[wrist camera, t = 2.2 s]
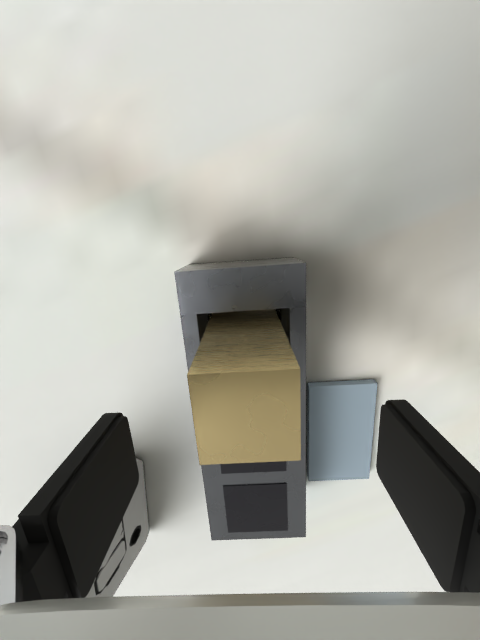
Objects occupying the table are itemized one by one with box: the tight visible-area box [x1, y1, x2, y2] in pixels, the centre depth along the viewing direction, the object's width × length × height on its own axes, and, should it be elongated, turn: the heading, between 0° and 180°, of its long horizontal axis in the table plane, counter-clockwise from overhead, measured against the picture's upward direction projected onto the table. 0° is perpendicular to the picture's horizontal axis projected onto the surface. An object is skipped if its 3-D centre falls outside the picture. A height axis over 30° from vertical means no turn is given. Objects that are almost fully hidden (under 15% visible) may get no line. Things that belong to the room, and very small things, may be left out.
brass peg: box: [187, 309, 301, 465], centre depth 15 cm, size 4×4×10 cm
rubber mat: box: [307, 379, 377, 481], centre depth 22 cm, size 9×5×1 cm, turn 4°
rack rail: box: [174, 257, 306, 540], centre depth 19 cm, size 20×7×4 cm, turn 4°
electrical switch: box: [85, 458, 149, 598], centre depth 20 cm, size 9×5×9 cm, turn 178°
